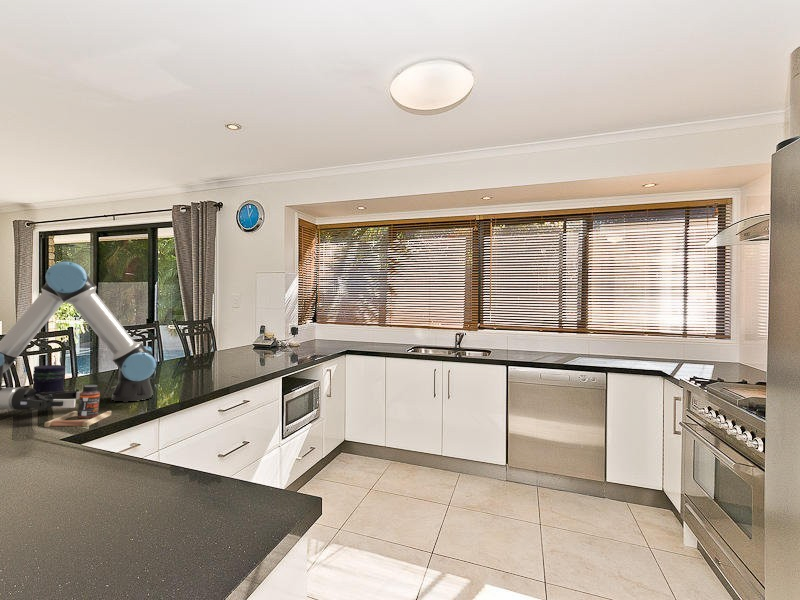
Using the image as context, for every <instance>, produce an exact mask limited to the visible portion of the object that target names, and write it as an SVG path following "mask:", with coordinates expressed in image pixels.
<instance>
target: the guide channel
mask: <svg viewBox="0 0 800 600" xmlns="http://www.w3.org/2000/svg"><path fill="white" fill-rule="evenodd" d="M75 416H78V410H73V411H70V412H67V413H66V414H63V415H60V416H58V417H55V418H53V419H50V420H47V421H45V422H44V423H43V424H44V425H43V426H44V428H49V427H59V426H60V427H64V426H65V427H66V426H67V427H69V426H71V427H72V426H74V427H77V426H78V427H79V426H82V427H83V428H88V427H89V426H91V425H93V424H95V423H98V422H99V421H102V420H103V419H106V418H108V417H110V416H112V410H107V411H105V412H103V413H101V414H98V416H96V417H93V418H89V419H87V420H85V419H84V420H80V419H79V420H73V419H72V420H68V419H71V418H73V417H75Z"/></svg>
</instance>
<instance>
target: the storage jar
mask: <svg viewBox="0 0 800 600" xmlns="http://www.w3.org/2000/svg"><path fill="white" fill-rule="evenodd" d="M32 377H33V378H32V381H33V384H32V385H33V387H32V388H33V389H35V390H36V392H37V393H38V394H40V393H42V392H60V391H65V390H64V380H65V378H66V365H65V364H64V365H63V364H51V365H50V364H46V365H44V364H43V365H36V366H34V367H33V375H32ZM51 400H52V399H51Z"/></svg>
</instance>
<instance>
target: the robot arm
mask: <svg viewBox="0 0 800 600" xmlns="http://www.w3.org/2000/svg"><path fill="white" fill-rule="evenodd" d="M45 281H46V282H45V284H44V285H43V286H42V287H41V288H40V289H41V293H40V294H39V295H38V296H37V298H36V299H35V300H34V301H33V302H32V304H31V305H30V306H29V307H28V308H27V309H26V311H25V312H24V313H23V314H22V315H21V316H20V317H19V318H18V320H17V321H16V322H15V324H14V325H12V327H11V328H10V329H9V330H8V331H7V333H6V334H5V335H4V336H3V337H2V338H1V340H0V410H2V411H3V410H4V411H5V412H9V411H10V410H11V411H12V410H16V411H26V410H27V411H28V410H31V409H38V410H45V409H46V411H50V410H52V408H53V409H54V408H65V409H66V408H67V409H68V408H71V409H73V408H75V407H76V404H77V403H76V401H77V400H79V396H80V393H81V392H82V391H80V389H76V390H64V391H60V392H42V393H40V394H38V393H37V392H36V390H35V389H33V387H2V386H3V375H4V374H5V373H6V372H8V370H9V369H10V368H11V366H12V365H13V363H14V362H15V361H16V360H17V359H18V357H19V356H20V354H21V353H23V351H24V350H25V349H26V348H27V346H28V345H29V344H30V343H31V342H32V341H33V339H34V338H35V337H36V336H37V334H38V333H39V332H40V331H41V330H42V328H43V327H45V325H46V324H47V323H48V322H49V320H50V319H51V318H52V316H54V314H55V313H56V312H57V311H58V309H59V308H60V307H61V306H62V305H63V304H64V303H65V304H69V305H72V307H74V309H75V310H76V312H78V313H79V315H80V316H81V317H82V318H83V320H84V321H85V322H86V323H87V324H88V326H89V327H90V328H91V329H92V330H93V332H94V333H95V334H96V336H97V337H98V338H99V339H100V340H101V342H102V343H103V344H104V345H105V346H106V348H107V349H108V350H109V351H110V353H111V354H112V356H111V360H112V362H113V364H115V365H116V367H117V368H118V379H117V383H116V386H115V387H114V390H113V392H112V394H111V401H112V400H114V401H113V402H115V401H123V402H122V403H129V402H128V401H137V400H142V399H146V398H149V397H151V396H152V395H153V396H154V392H153V388H152V385H151V382H150V381H151V380H150V378H151V376H152V375H153V374H154V373H155V370H156V369H157V362H156V359H155V358H154V356H153V355H152V354H153V349H152V347H151V346H146V345H145V346H144V345H143V343H142V342H141V341H139V342H138V341H135V340H134V339H133V338H132V336H131V335H130V334H129V333H128V331H127V330H126V329H125V328H124V326H123V325H122V324H121V323H120V321H119V320H118V318H117V317H116V316H115V315H114V313H113V312H111V311H112V310H110V309H109V308H108V306H107V305H106V304H105V302H104V301H103V300H102V299H101V298H100V296H99V294H98V293H96V290H97V285H96V284H95V283H94V281H93V280H92V279H91V277H90V276H89V275H88V274H87V272H86V270H85V269H84V267H82V266H81V265H80V264H78V263H76V262H72V261H60V262H56V263H55V264H52V265H50V267H49V268H48V269H47V270H46V273H45ZM51 399H52V400H51Z"/></svg>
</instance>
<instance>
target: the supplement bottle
mask: <svg viewBox="0 0 800 600" xmlns="http://www.w3.org/2000/svg"><path fill="white" fill-rule="evenodd" d="M80 392H81V393H80V396H79V399H78V407H77V418H79V419H84V420H85V419H92V418H94V417H96V416H98V415H99V409H100V408H99V407H100V400H101V399H100V398H101V393H100V390H99V391H98V385H97V384H85V385H83V390H82V391H80Z"/></svg>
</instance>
